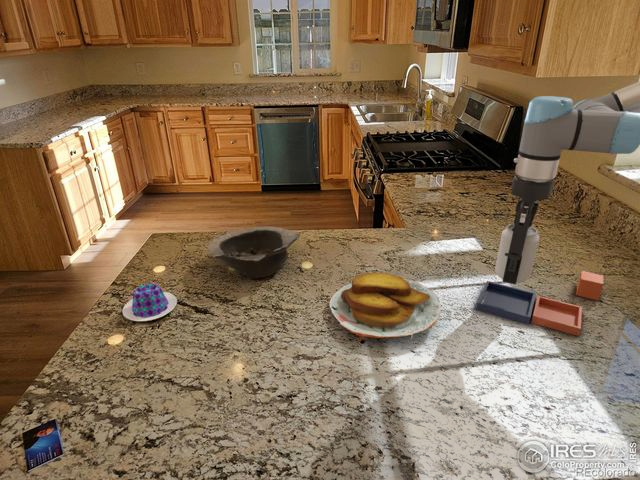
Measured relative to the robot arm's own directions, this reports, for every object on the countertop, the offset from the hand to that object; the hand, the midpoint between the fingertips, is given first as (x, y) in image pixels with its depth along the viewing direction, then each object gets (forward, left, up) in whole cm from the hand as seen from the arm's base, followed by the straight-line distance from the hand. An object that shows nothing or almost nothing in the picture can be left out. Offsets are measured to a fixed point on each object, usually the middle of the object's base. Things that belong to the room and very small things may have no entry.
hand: (512, 273), depth 96 cm
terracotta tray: (-11, 0, -8) cm, 14 cm away
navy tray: (0, 0, -8) cm, 8 cm away
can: (0, 0, -1) cm, 1 cm away
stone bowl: (+64, +14, -9) cm, 66 cm away
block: (-16, -15, -8) cm, 24 cm away
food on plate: (+24, +17, -9) cm, 30 cm away
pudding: (+72, +43, -9) cm, 84 cm away
